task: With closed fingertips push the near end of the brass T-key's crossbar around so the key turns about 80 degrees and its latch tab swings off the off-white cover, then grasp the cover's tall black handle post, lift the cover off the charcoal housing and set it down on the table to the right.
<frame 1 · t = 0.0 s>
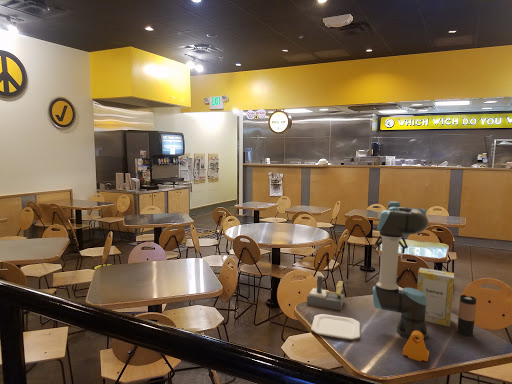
hand: (390, 256, 243), 28 cm above the table, fingers open, 13 cm apart
plate: (335, 329, 197), on the table
key: (333, 289, 230), point 10 cm above the table, hinge at 0.0°
bracket: (415, 356, 172), on the table
travel mug: (464, 333, 198), on the table
housing: (325, 303, 232), on the table
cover: (318, 294, 233), point 5 cm above the table, touching housing
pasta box: (432, 319, 214), on the table
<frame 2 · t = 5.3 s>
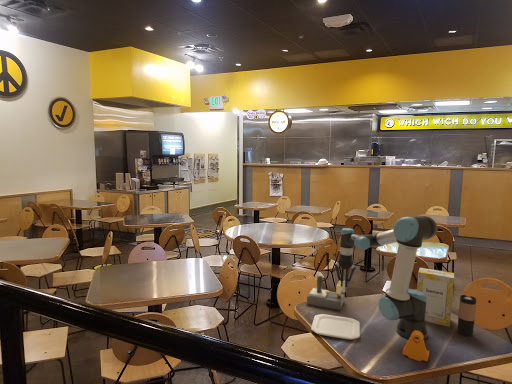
hand: (343, 291, 224), 11 cm above the table, fingers closed
key: (333, 289, 230), point 10 cm above the table, hinge at 0.0°, touching gripper
everything else where it was.
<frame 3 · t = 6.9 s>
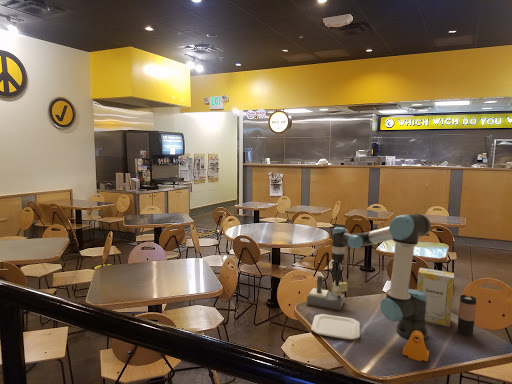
hand: (336, 290, 225), 11 cm above the table, fingers closed
key: (336, 288, 232), point 10 cm above the table, hinge at -47.5°, touching gripper
everything else where it was.
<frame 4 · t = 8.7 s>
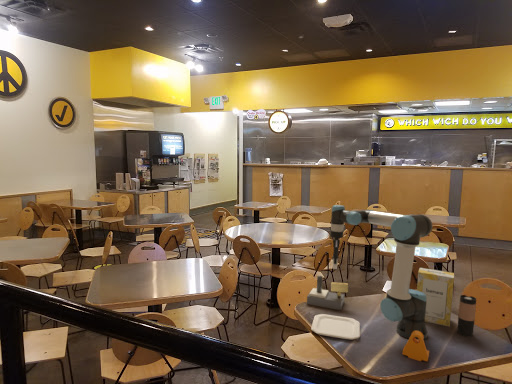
hand: (334, 268, 225), 24 cm above the table, fingers closed
key: (338, 288, 232), point 10 cm above the table, hinge at -74.7°
everything else where it was.
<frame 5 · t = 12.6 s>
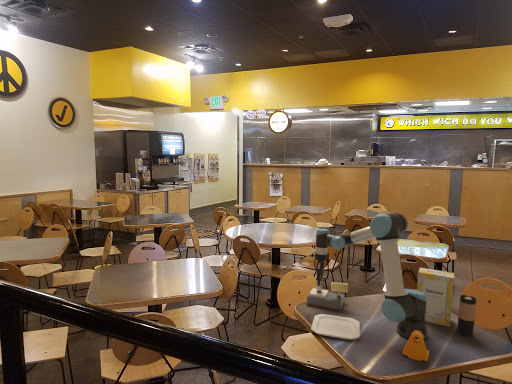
hand: (319, 289, 233), 8 cm above the table, fingers closed on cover, 3 cm apart
key: (338, 288, 232), point 10 cm above the table, hinge at -75.1°
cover: (318, 294, 233), point 5 cm above the table, touching gripper, housing
everything else where it was.
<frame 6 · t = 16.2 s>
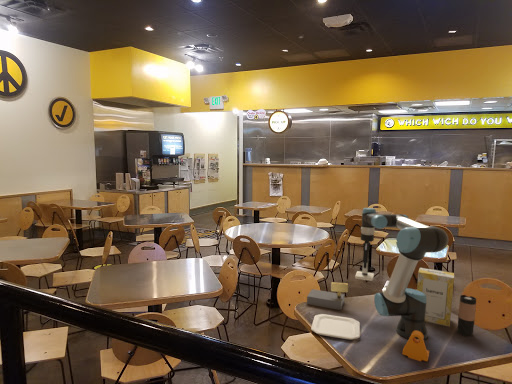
hand: (364, 272, 221), 24 cm above the table, fingers closed on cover, 3 cm apart
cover: (364, 277, 221), point 21 cm above the table, touching gripper
everything else where it was.
when the fingers open (5 cm above the table, at t = 19.8 s): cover drops 2 cm, on the table.
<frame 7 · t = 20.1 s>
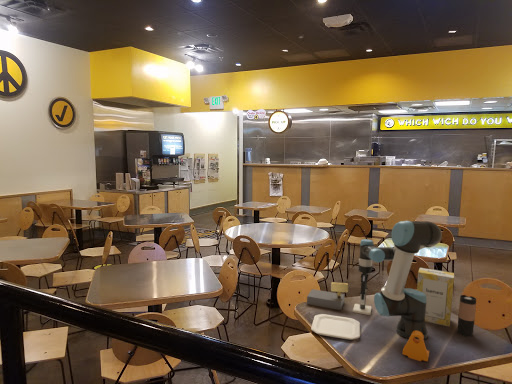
hand: (362, 301, 223), 5 cm above the table, fingers open, 8 cm apart
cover: (362, 310, 223), on the table
everything else where it was.
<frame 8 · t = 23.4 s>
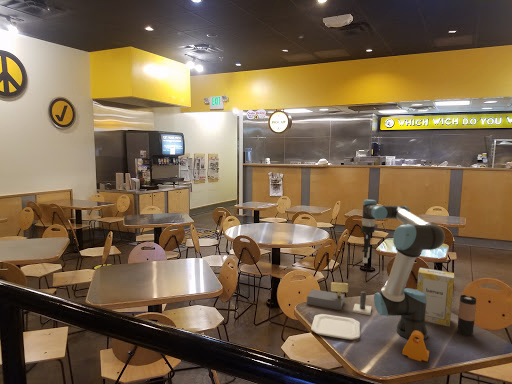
hand: (365, 260, 222), 31 cm above the table, fingers open, 13 cm apart
nothing on the table moved.
at the end: key at -75° (first picture: +0°); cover inside the target area (0.1 cm from its centre), on the table; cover tilted 0° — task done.
